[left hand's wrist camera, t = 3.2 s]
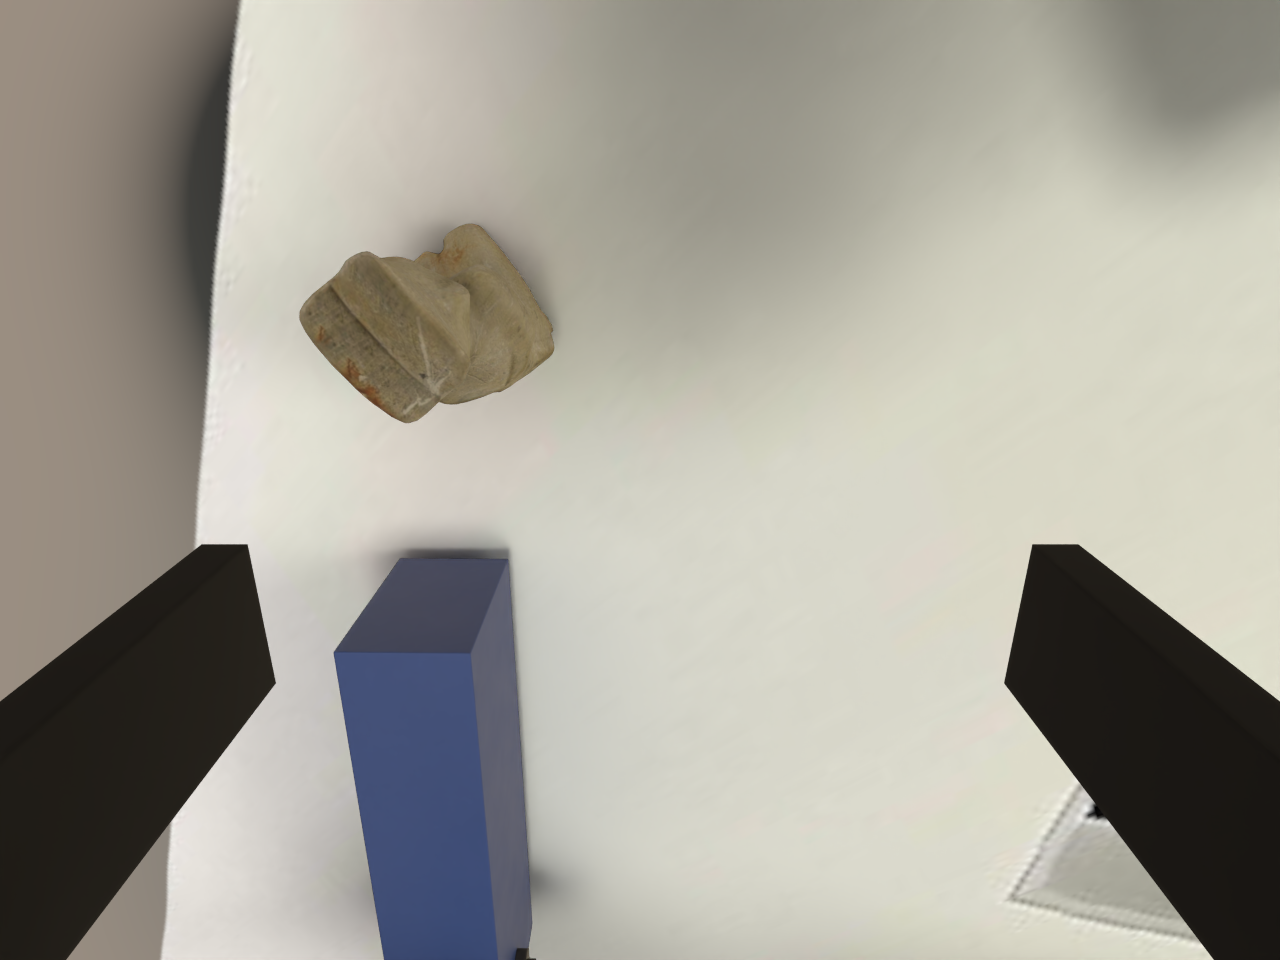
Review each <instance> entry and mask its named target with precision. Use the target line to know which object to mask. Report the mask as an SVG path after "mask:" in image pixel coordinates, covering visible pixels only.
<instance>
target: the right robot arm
mask: <svg viewBox="0 0 1280 960" xmlns="http://www.w3.org/2000/svg"><path fill="white" fill-rule="evenodd" d="M515 960H536V959H531V958H529V948H517V950H516V956H515Z"/></svg>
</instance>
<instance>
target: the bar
mask: <svg viewBox="0 0 1280 960" xmlns="http://www.w3.org/2000/svg"><path fill="white" fill-rule="evenodd" d="M334 658H335V664H336V670H337V676H338V682H339V688H340V694H341V700H342V707H343V713H344V719H345V725H346V731H347V737H348V743H349V749H350V755H351V761H352V767H353V773H354V779H355V786H356V792H357V798H358V804H359V810H360V816H361V822H362V828H363V834H364V840H365V846H366V852H367V858H368V864H369V871H370V877H371V883H372V889H373V895H374V901H375V907H376V913H377V919H378V925H379V931H380V937H381V943H382V950H383V956H384V960H515V956H516V950H517V948H528V947H529V941H530V935H531V929H532V911H531V896H530V881H529V866H528V851H527V836H526V820H525V805H524V790H523V775H522V760H521V745H520V730H519V715H518V700H517V685H516V670H515V654H514V639H513V624H512V609H511V594H510V579H509V564H508V559H422V558H400V559H399V561H398V562H397V563H396V565H395V566H394V568H393V569H392V571H391V572H390V573H389V575H388V576H387V578H386V579H385V580H384V582H383V583H382V585H381V586H380V587H379V589H378V590H377V592H376V593H375V595H374V596H373V597H372V599H371V600H370V602H369V603H368V604H367V606H366V607H365V609H364V610H363V612H362V613H361V614H360V616H359V617H358V619H357V620H356V621H355V623H354V624H353V626H352V627H351V629H350V630H349V631H348V633H347V634H346V636H345V637H344V638H343V640H342V641H341V643H340V644H339V645H338V647H337V648H336V650H335V651H334Z"/></svg>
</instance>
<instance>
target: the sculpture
mask: <svg viewBox="0 0 1280 960" xmlns="http://www.w3.org/2000/svg"><path fill="white" fill-rule="evenodd" d="M299 317H300V322H301V324H302V326H303V328H304V330H305V332H306V333H307V335H308V336H309V337H310V339H311V340H312V342H313V343H314V344H315V346H316V347H317V348H318V349H319V351H320V352H321V353H322V354H323V355H324V356H325V357H326V359H327V360H328V361H329V362H330V363H331V365H333V366H334V367H335V368H336V369H337V370H338V371H339V372H340V373H341V374H342V375H343V376H344V377H345V378H346V379H347V380H348V381H349V382H350V383H351V384H352V385H353V386H354V387H355V388H356V389H357V390H358V391H359V392H360V393H361V394H362V395H363V396H364V397H366V398H367V399H368V400H369V401H370V402H372V403H373V404H374V405H376V406H377V407H379V408H380V409H382V410H383V411H384V412H386V413H387V414H389V415H390V416H391V417H393V418H395V419H397V420H399V421H402V422H404V423H411V422H414V421H417V420H419V419H420V418H421V417H423V416H424V415H425V414H427V413H428V412H429V411H430V410H431V409H432V408H433V407H434V406H435V405H436V404H437V403H438V402H441V403H444V404H459V403H464V402H468V401H471V400H474V399H478V398H481V397H484V396H486V395H488V394H491V393H493V392H501V391H503V390H505V389H507V388H508V387H510V386H511V385H513V384H514V383H515V382H517V381H518V380H520V379H521V378H523V377H524V376H526V375H527V374H529V373H530V372H531V371H533V370H534V369H535V368H536V367H538V366H539V365H540V364H541V363H543V362H544V361H545V360H546V359H548V358H549V357H550V356H551V355H552V353H553V351H554V343H553V339H552V336H551V332H552V331H553V328H552V325H551V323H550V322H549V320H548V318H547V317H546V315H545V314H544V313H543V312H542V311H541V310H540V308H539V306H538V304H537V303H536V301H535V299H534V297H533V295H532V293H531V291H530V290H529V288H528V286H527V285H526V283H525V282H524V280H523V279H522V277H521V276H520V274H519V273H518V272H517V270H516V269H515V268H514V266H513V265H512V264H511V262H510V261H509V260H508V258H507V257H506V256H505V254H504V253H503V252H502V251H501V249H500V248H499V247H498V246H497V244H496V243H495V242H494V241H493V240H492V239H491V237H490V236H489V235H488V234H487V233H486V232H485V231H484V230H483V229H482V227H480V226H478V225H475V224H465V225H462V226H459V227H458V228H456V229H454V230H452V231H451V232H450V233H448V234H447V235H446V237H445V238H444V249H443V251H442V252H441V253H440V254H436V253H431V252H427V251H426V252H424V253H423V254H422V255H421V256H420V257H418V258H417V259H416V260H415V261H412V260H409V259H406V258H402V257H386V258H379V257H378V256H376V255H374V254H372V253H371V252H361V253H358V254H356V255H354V256H352V257H351V258H349V259H348V260H347V261H346V262H345V263H344V265H343V266H342V268H341V270H340V271H339V272H338V273H337V274H336V275H335V276H334V277H333V278H332V279H331V280H330V281H328V282H327V283H326V284H325V285H323V286H322V287H321V288H320V289H318V290H317V291H316V292H315V293H313V294H312V295H311V297H310V298H309V299H308V300H307V301H306V302H305V303H304V305H303V306H302V308H301V310H300V316H299Z"/></svg>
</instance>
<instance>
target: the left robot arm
mask: <svg viewBox="0 0 1280 960" xmlns="http://www.w3.org/2000/svg"><path fill="white" fill-rule="evenodd" d="M275 684H276V682H275V677H274V672H273V667H272V662H271V657H270V652H269V647H268V642H267V638H266V633H265V628H264V623H263V618H262V613H261V608H260V603H259V598H258V593H257V589H256V584H255V579H254V574H253V569H252V564H251V559H250V554H249V549H248V544H202V545H200V546H199V547H198V548H197V549H195V550H194V551H193V552H191V553H190V554H189V555H188V556H186V557H185V558H184V559H182V560H181V561H180V562H179V563H177V564H176V565H175V566H173V567H172V568H171V569H170V570H168V571H167V572H166V573H164V574H163V575H162V576H161V577H159V578H158V579H157V580H155V581H154V582H153V583H152V584H150V585H149V586H148V587H147V588H145V589H144V590H143V591H141V592H140V593H139V594H138V595H136V596H135V597H134V598H132V599H131V600H130V601H129V602H127V603H126V604H125V605H123V606H122V607H121V608H120V609H118V610H117V611H116V612H114V613H113V614H112V615H111V616H109V617H108V618H107V619H105V620H104V621H103V622H102V623H100V624H99V625H98V626H96V627H95V628H94V629H93V630H91V631H90V632H89V633H88V634H86V635H85V636H84V637H82V638H81V639H80V640H78V641H77V642H76V643H75V644H73V645H72V646H71V647H70V648H68V649H67V650H66V651H64V652H63V653H62V654H61V655H59V656H58V657H57V658H55V659H54V660H53V661H52V662H50V663H49V664H48V665H46V666H45V667H44V668H43V669H41V670H40V671H39V672H37V673H36V674H35V675H34V676H32V677H31V678H30V679H28V680H27V681H26V682H25V683H23V684H22V685H21V686H19V687H18V688H17V689H16V690H14V691H13V692H12V693H10V694H9V695H8V696H7V697H5V698H4V699H3V700H2V701H0V960H66V959H67V958H68V957H69V955H70V954H71V953H72V951H73V950H74V949H75V947H76V946H77V945H78V943H79V942H80V941H81V939H82V938H83V937H84V935H85V934H86V933H87V931H88V930H89V929H90V928H91V926H92V925H93V924H94V922H95V921H96V920H97V918H98V917H99V916H100V914H101V913H102V912H103V910H104V909H105V908H106V906H107V905H108V904H109V902H110V901H111V900H112V899H113V897H114V896H115V895H116V893H117V892H118V891H119V889H120V888H121V887H122V885H123V884H124V883H125V881H126V880H127V879H128V877H129V876H130V875H131V873H132V872H133V871H134V869H135V868H136V867H137V866H138V864H139V863H140V862H141V860H142V859H143V858H144V856H145V855H146V854H147V852H148V851H149V850H150V848H151V847H152V846H153V844H154V843H155V842H156V840H157V839H158V838H159V837H160V835H161V834H162V832H163V831H164V830H165V829H166V827H167V826H168V825H169V823H170V822H171V821H172V819H173V818H174V817H175V815H176V814H177V813H178V811H179V810H180V809H181V808H182V806H183V805H184V804H185V802H186V801H187V800H188V798H189V797H190V796H191V794H192V793H193V792H194V790H195V789H196V788H197V786H198V785H199V784H200V782H201V781H202V780H203V779H204V777H205V776H206V775H207V773H208V772H209V771H210V769H211V768H212V767H213V765H214V764H215V763H216V761H217V760H218V759H219V757H220V756H221V755H222V753H223V752H224V751H225V750H226V748H227V747H228V746H229V744H230V743H231V742H232V740H233V739H234V738H235V736H236V735H237V734H238V732H239V731H240V730H241V728H242V727H243V726H244V724H245V723H246V722H247V720H248V719H249V718H250V717H251V715H252V714H253V713H254V711H255V710H256V709H257V707H258V706H259V705H260V703H261V702H262V701H263V699H264V698H265V697H266V695H267V694H268V693H269V691H270V690H271V689H272V688H273V686H274V685H275ZM1004 684H1005V685H1006V686H1007V688H1008V689H1009V690H1010V691H1011V693H1012V694H1013V695H1014V697H1015V698H1016V699H1017V701H1018V702H1019V703H1020V705H1021V706H1022V707H1023V709H1024V710H1025V711H1026V713H1027V714H1028V715H1029V717H1030V718H1031V719H1032V720H1033V722H1034V723H1035V724H1036V726H1037V727H1038V728H1039V730H1040V731H1041V732H1042V734H1043V735H1044V736H1045V738H1046V739H1047V740H1048V742H1049V743H1050V744H1051V746H1052V747H1053V748H1054V750H1055V751H1056V752H1057V753H1058V755H1059V756H1060V757H1061V759H1062V760H1063V761H1064V763H1065V764H1066V765H1067V767H1068V768H1069V769H1070V771H1071V772H1072V773H1073V775H1074V776H1075V777H1076V779H1077V780H1078V781H1079V782H1080V784H1081V785H1082V786H1083V788H1084V789H1085V790H1086V792H1087V793H1088V794H1089V796H1090V797H1091V798H1092V800H1093V801H1094V802H1095V804H1096V805H1097V806H1098V808H1099V809H1100V810H1101V811H1102V813H1103V814H1104V815H1105V817H1106V818H1107V819H1108V821H1109V822H1110V823H1111V825H1112V826H1113V827H1114V829H1115V830H1116V831H1117V833H1118V834H1119V835H1120V837H1121V838H1122V839H1123V840H1124V842H1125V843H1126V844H1127V846H1128V847H1129V848H1130V850H1131V851H1132V852H1133V854H1134V855H1135V856H1136V858H1137V859H1138V860H1139V862H1140V863H1141V864H1142V866H1143V867H1144V868H1145V870H1146V871H1147V872H1148V873H1149V875H1150V876H1151V877H1152V879H1153V880H1154V881H1155V883H1156V884H1157V885H1158V887H1159V888H1160V889H1161V891H1162V892H1163V893H1164V895H1165V896H1166V897H1167V899H1168V900H1169V901H1170V902H1171V904H1172V905H1173V906H1174V908H1175V909H1176V910H1177V912H1178V913H1179V914H1180V916H1181V917H1182V918H1183V920H1184V921H1185V922H1186V924H1187V925H1188V926H1189V928H1190V929H1191V930H1192V931H1193V933H1194V934H1195V935H1196V937H1197V938H1198V939H1199V941H1200V942H1201V943H1202V945H1203V946H1204V947H1205V949H1206V950H1207V951H1208V953H1209V954H1210V955H1211V957H1212V958H1213V959H1214V960H1280V701H1279V700H1277V699H1276V698H1275V697H1273V696H1272V695H1271V694H1270V693H1268V692H1267V691H1266V690H1264V689H1263V688H1262V687H1261V686H1259V685H1258V684H1257V683H1255V682H1254V681H1253V680H1252V679H1250V678H1249V677H1248V676H1246V675H1245V674H1244V673H1243V672H1241V671H1240V670H1239V669H1237V668H1236V667H1235V666H1234V665H1232V664H1231V663H1230V662H1228V661H1227V660H1226V659H1225V658H1223V657H1222V656H1221V655H1219V654H1218V653H1217V652H1216V651H1214V650H1213V649H1212V648H1210V647H1209V646H1208V645H1207V644H1205V643H1204V642H1203V641H1202V640H1200V639H1199V638H1198V637H1196V636H1195V635H1194V634H1193V633H1191V632H1190V631H1189V630H1187V629H1186V628H1185V627H1184V626H1182V625H1181V624H1180V623H1178V622H1177V621H1176V620H1175V619H1173V618H1172V617H1171V616H1169V615H1168V614H1167V613H1166V612H1164V611H1163V610H1162V609H1160V608H1159V607H1158V606H1157V605H1155V604H1154V603H1153V602H1151V601H1150V600H1149V599H1148V598H1146V597H1145V596H1144V595H1142V594H1141V593H1140V592H1139V591H1137V590H1136V589H1135V588H1134V587H1132V586H1131V585H1130V584H1128V583H1127V582H1126V581H1125V580H1123V579H1122V578H1121V577H1119V576H1118V575H1117V574H1116V573H1114V572H1113V571H1112V570H1110V569H1109V568H1108V567H1107V566H1105V565H1104V564H1103V563H1101V562H1100V561H1099V560H1098V559H1096V558H1095V557H1094V556H1092V555H1091V554H1090V553H1089V552H1087V551H1086V550H1085V549H1083V548H1082V547H1081V546H1080V545H1078V544H1032V549H1031V554H1030V559H1029V564H1028V569H1027V574H1026V579H1025V584H1024V589H1023V593H1022V598H1021V603H1020V608H1019V613H1018V618H1017V623H1016V628H1015V633H1014V638H1013V642H1012V647H1011V652H1010V657H1009V662H1008V667H1007V672H1006V677H1005V682H1004Z"/></svg>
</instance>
